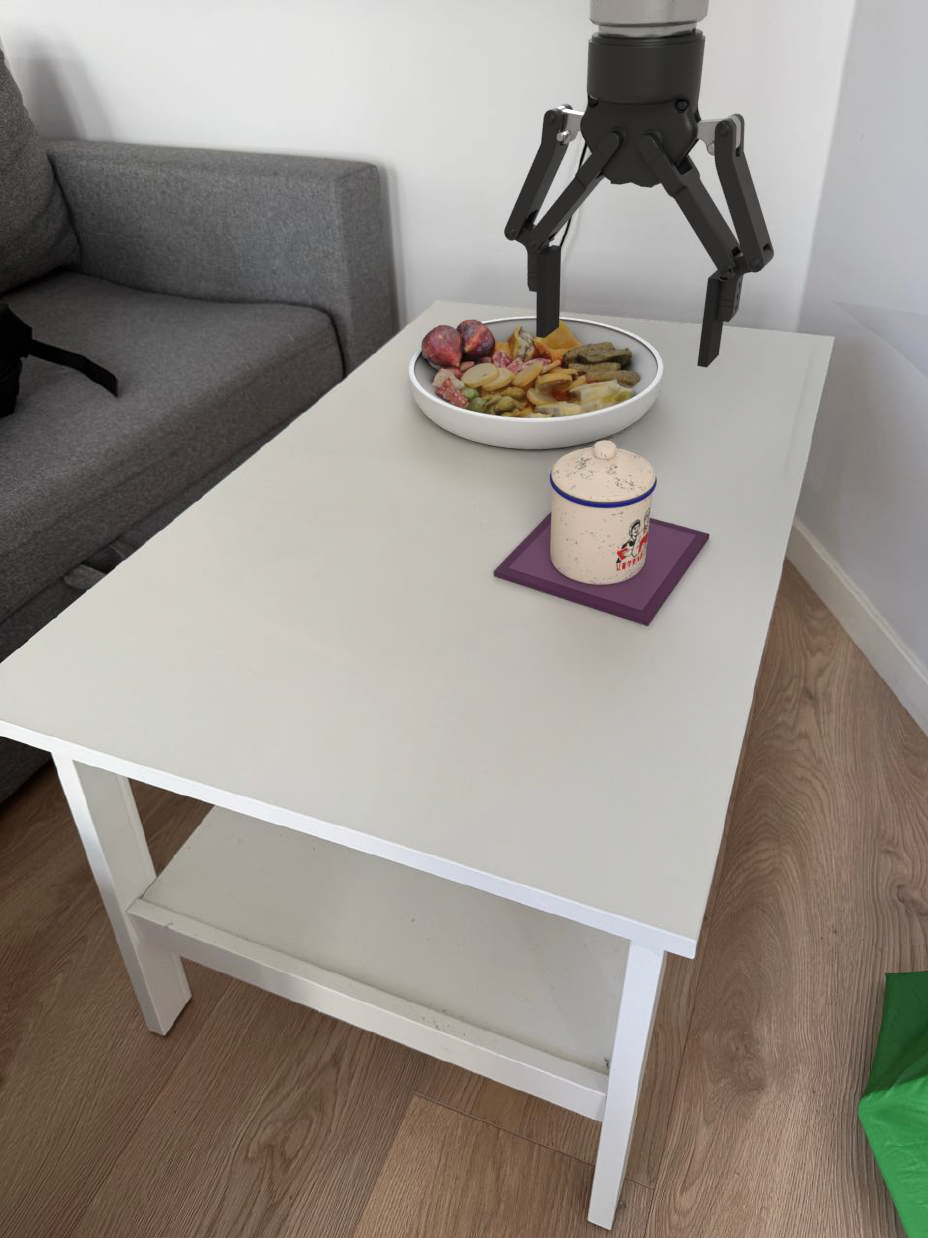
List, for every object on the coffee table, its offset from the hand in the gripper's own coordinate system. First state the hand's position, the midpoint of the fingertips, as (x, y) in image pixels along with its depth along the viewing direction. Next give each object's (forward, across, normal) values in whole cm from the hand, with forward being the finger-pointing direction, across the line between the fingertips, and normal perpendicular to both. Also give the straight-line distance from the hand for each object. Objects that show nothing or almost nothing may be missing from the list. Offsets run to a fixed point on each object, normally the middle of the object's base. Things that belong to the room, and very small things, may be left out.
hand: (624, 346), depth 72 cm
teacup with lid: (+20, +1, 0) cm, 20 cm away
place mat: (+20, +1, 0) cm, 20 cm away
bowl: (+20, +22, -26) cm, 39 cm away
